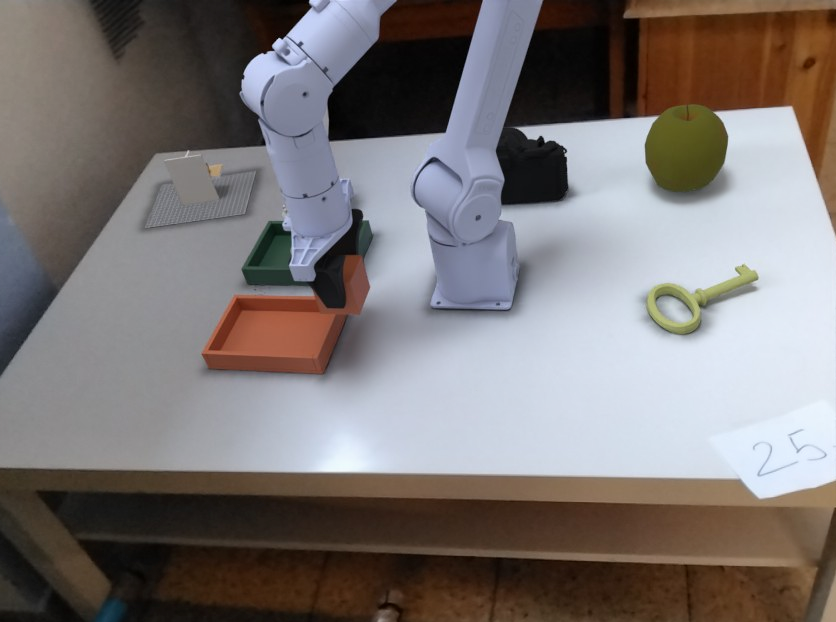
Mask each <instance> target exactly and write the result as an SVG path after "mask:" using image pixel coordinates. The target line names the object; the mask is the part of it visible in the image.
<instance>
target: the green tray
mask: <svg viewBox="0 0 836 622" xmlns="http://www.w3.org/2000/svg"><path fill="white" fill-rule="evenodd" d="M283 222H284V220H268V221H267V223H266V225H265V227H264V228H263V229H262V231H261V234H260V235H259V237H258V239H257V241H255V244H254V246H253V248H252V250H251V251H250V253H249V255H248V257H247V258H246V260H245V262H244V263H243V265H242V267H241V269H240V270H241V272H242V275H243V277H244V279H245V282H246V284H247V285H260V286H261V285H263V286H264V285H267V286H268V285H269V286H270V285H271V286H309V285H308V284H307V283H306V282H305V281H294V279H293V276H292V273H291V270H290V268H289V265H288V262H289V259H290V257H291V247H292V233H291V231H285V230H284V229H283V226H282V223H283ZM373 236H374V234H373V231H372V227H371V224H370V220H368V219H366V220H365V219H363V220H362V223H361V228H360V234H359V245H358V253H359V255H362V259H363V260H364V258H365V255H366V253H367V250H368V249H369V246H370V243H371V241H372V239H373Z"/></svg>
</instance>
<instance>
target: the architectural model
mask: <svg viewBox="0 0 836 622" xmlns="http://www.w3.org/2000/svg"><path fill="white" fill-rule="evenodd" d="M189 153H190V150H188V149H187V152H186V153H185V155H184V156H182V157H174V158H168V159H163V162H164V165H165V168H167V172H168V174H169V176H170V178H171V182H172V183H165V184H161V186H160V189H159V191H158V194H157V195H156V196H157V197H156V199H155V202H154V203H153V206H152V209H151V212H150V214H149V216H148V218H147V221H146V224H145V226H144V229H150V228H157V227H163V226H169V225H171V226H172V225H178V224H185V223H191V222H198V221H205V220H213V219H219V218H226V217H234V216H241V215H246V211H247V207H248V203H249V200H250V196H251V193H252V189H253V185H254V182H255V178H256V174H257V170H254V171H245V172H239V173H232V174H226V175H222V172H223V169H224V164H223V163H220V164H214V165H209V164H208V162H205V160H204V158H203V154H194V155H189Z"/></svg>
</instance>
